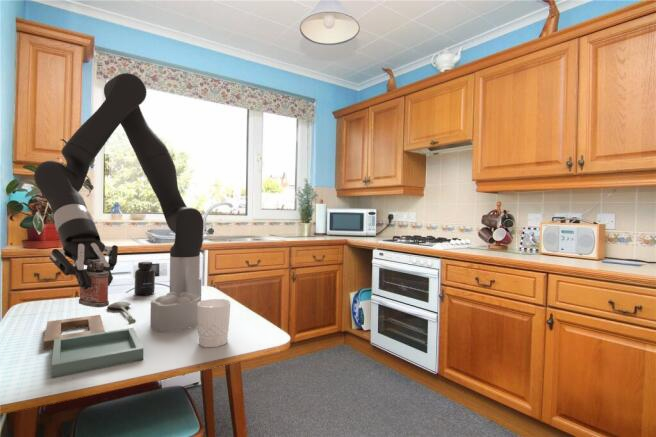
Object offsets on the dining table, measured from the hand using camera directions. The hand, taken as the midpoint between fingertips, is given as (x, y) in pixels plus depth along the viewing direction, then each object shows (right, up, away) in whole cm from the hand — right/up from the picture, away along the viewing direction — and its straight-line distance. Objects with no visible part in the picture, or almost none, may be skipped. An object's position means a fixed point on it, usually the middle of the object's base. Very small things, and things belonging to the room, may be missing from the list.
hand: (98, 285), depth 80 cm
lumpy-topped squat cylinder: (+8, -16, +23) cm, 29 cm away
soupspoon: (-12, -15, +32) cm, 37 cm away
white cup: (+22, -16, +10) cm, 29 cm away
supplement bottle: (-19, -14, +57) cm, 62 cm away
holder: (-14, -15, +13) cm, 25 cm away
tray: (-1, -16, +1) cm, 16 cm away
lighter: (-2, -5, +1) cm, 5 cm away
